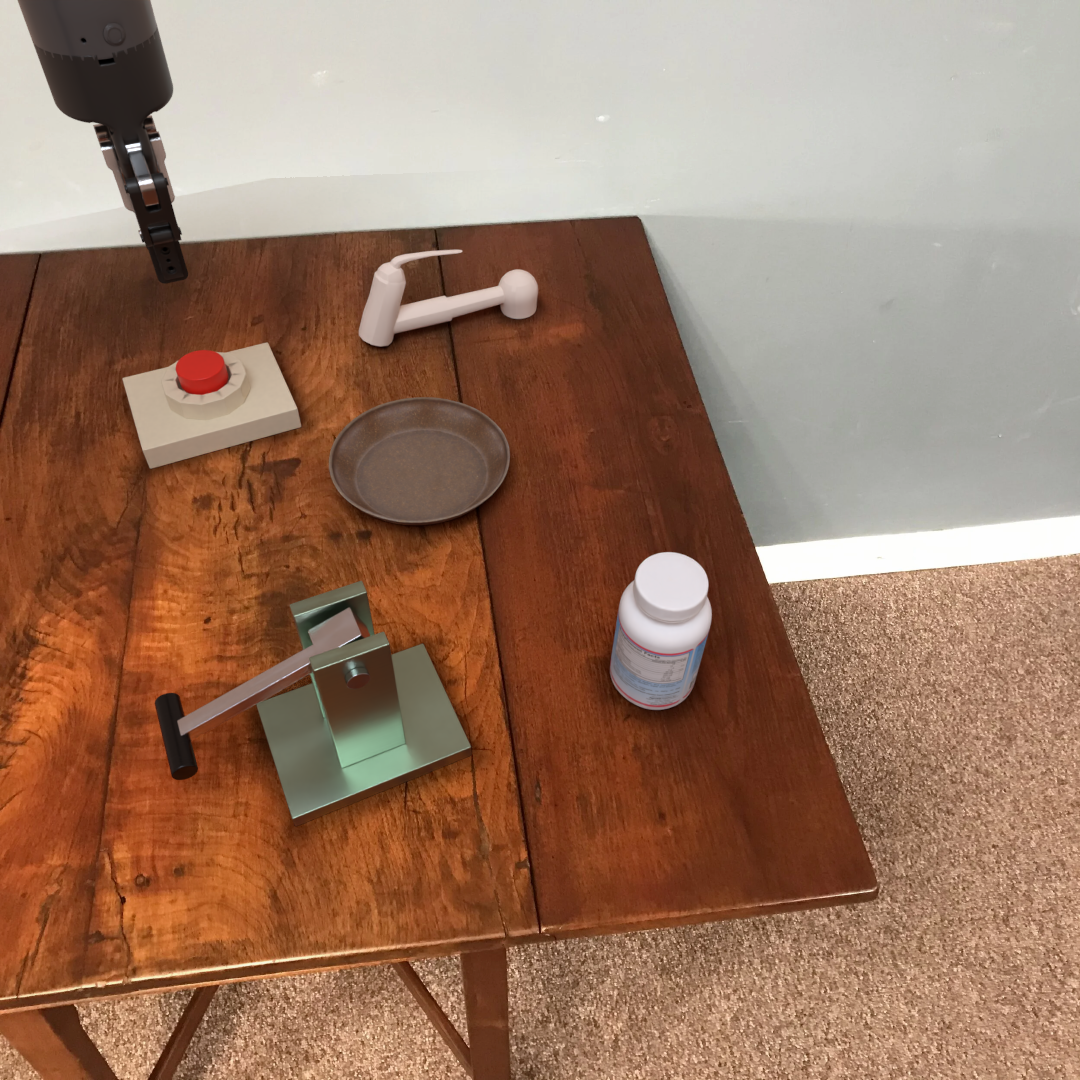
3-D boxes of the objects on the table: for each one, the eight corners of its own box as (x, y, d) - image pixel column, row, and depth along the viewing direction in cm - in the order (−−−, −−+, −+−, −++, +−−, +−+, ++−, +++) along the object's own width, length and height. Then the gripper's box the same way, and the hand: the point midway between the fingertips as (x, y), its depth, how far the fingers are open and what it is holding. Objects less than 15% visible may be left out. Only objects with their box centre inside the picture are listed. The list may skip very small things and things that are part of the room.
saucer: (386, 400, 85) (383, 376, 83) (536, 446, 82) (537, 423, 80) (298, 510, 76) (292, 487, 74) (463, 568, 73) (461, 545, 71)
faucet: (527, 355, 97) (559, 271, 91) (364, 347, 88) (388, 253, 82) (512, 333, 99) (543, 249, 93) (352, 323, 90) (375, 230, 84)
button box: (150, 469, 79) (135, 434, 76) (129, 396, 84) (115, 361, 81) (301, 427, 83) (294, 392, 79) (272, 360, 88) (263, 325, 85)
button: (186, 400, 79) (180, 384, 78) (176, 372, 81) (170, 356, 80) (233, 388, 80) (228, 372, 79) (222, 361, 82) (218, 344, 81)
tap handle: (185, 786, 54) (161, 772, 52) (167, 713, 57) (144, 698, 55) (386, 672, 54) (369, 655, 52) (358, 606, 57) (341, 587, 56)
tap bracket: (295, 827, 59) (253, 726, 49) (259, 712, 64) (215, 600, 54) (472, 755, 62) (466, 648, 53) (424, 652, 68) (410, 536, 58)
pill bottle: (651, 626, 70) (672, 527, 61) (711, 682, 67) (741, 585, 58) (591, 670, 67) (603, 572, 58) (650, 729, 64) (672, 636, 56)
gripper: (17, -8, 62) (102, 227, 75) (43, 82, 54) (134, 328, 67) (135, -23, 64) (197, 208, 77) (177, 61, 56) (239, 303, 69)
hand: (167, 262), depth 72 cm, fingers open, 4 cm apart
